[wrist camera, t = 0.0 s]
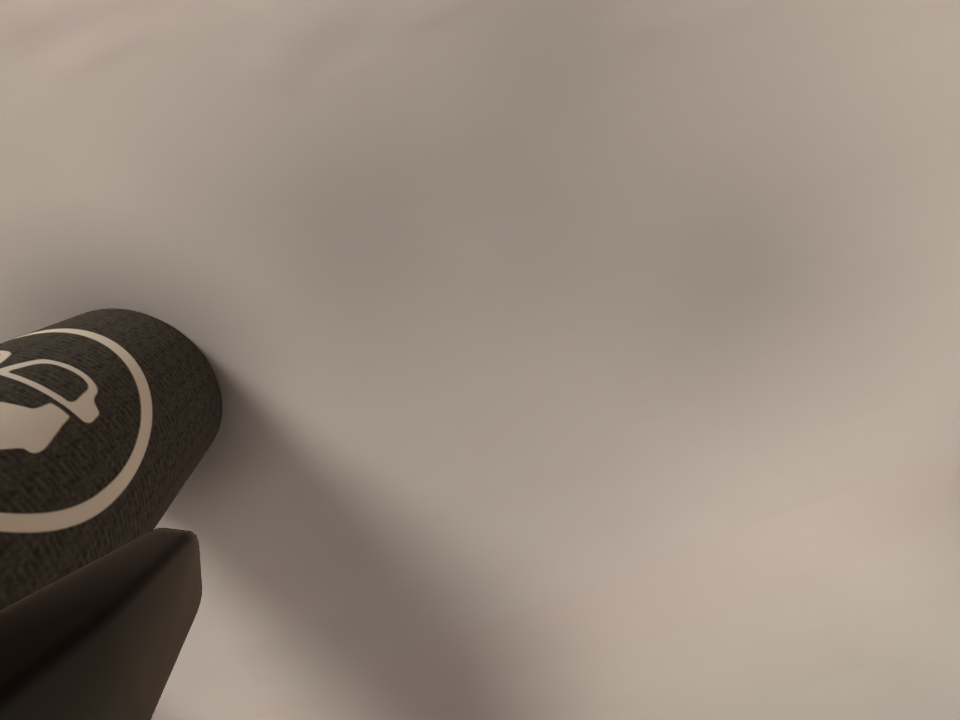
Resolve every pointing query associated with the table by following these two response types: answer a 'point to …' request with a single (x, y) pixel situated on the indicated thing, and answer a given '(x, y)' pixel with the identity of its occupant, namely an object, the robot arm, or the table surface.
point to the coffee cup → (94, 439)
